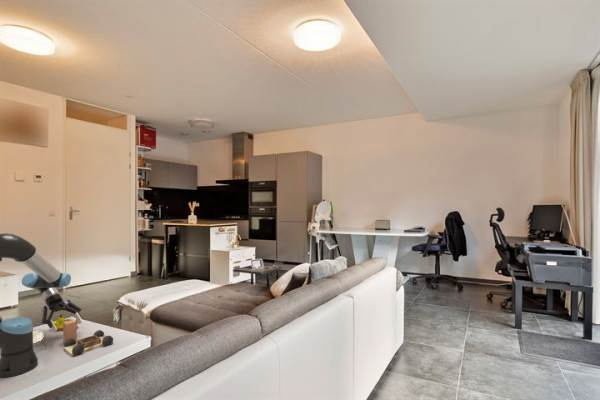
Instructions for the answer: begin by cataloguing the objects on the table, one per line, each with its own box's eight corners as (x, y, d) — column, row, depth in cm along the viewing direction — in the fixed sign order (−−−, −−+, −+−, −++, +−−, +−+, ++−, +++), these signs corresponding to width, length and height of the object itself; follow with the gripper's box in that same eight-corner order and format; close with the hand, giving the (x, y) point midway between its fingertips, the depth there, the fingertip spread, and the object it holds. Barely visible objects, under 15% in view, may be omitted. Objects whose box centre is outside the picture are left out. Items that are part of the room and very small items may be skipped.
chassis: (71, 357, 165) (71, 347, 165) (63, 349, 174) (62, 340, 174) (114, 343, 181) (114, 334, 181) (104, 337, 190) (103, 328, 190)
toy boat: (73, 331, 200) (73, 315, 200) (44, 332, 200) (44, 315, 200) (80, 327, 206) (80, 311, 206) (53, 328, 207) (52, 312, 207)
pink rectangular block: (66, 346, 179) (65, 324, 179) (63, 343, 182) (62, 322, 182) (76, 342, 183) (76, 321, 183) (73, 340, 186) (73, 319, 186)
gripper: (71, 295, 203) (87, 323, 197) (24, 308, 181) (41, 339, 174) (76, 288, 201) (93, 315, 195) (30, 299, 178) (47, 330, 172)
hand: (68, 326), depth 185 cm, fingers open, 13 cm apart
